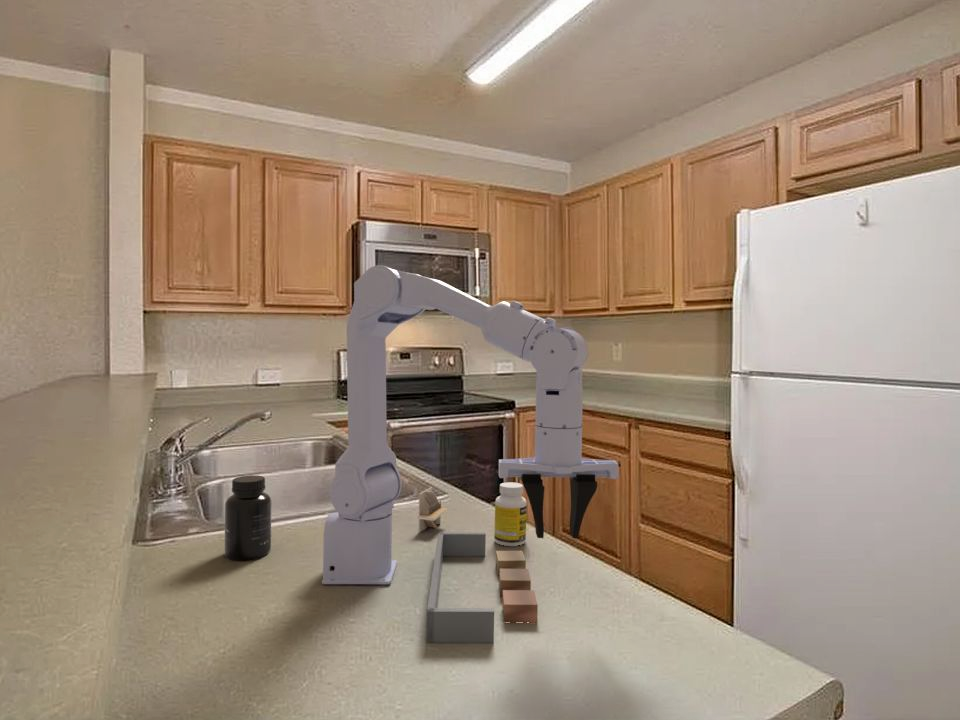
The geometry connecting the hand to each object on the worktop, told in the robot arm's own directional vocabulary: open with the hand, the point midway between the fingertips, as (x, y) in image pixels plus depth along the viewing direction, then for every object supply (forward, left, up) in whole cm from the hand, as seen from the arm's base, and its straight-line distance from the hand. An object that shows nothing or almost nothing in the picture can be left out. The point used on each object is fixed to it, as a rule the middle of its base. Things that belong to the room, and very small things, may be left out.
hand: (556, 535), depth 69 cm
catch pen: (-12, +7, -10) cm, 17 cm away
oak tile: (-5, +14, -10) cm, 18 cm away
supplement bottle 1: (-46, +20, -10) cm, 51 cm away
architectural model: (-18, +33, -11) cm, 39 cm away
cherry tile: (-5, 0, -10) cm, 11 cm away
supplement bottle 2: (-4, +26, -10) cm, 29 cm away
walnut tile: (-5, +7, -10) cm, 13 cm away
